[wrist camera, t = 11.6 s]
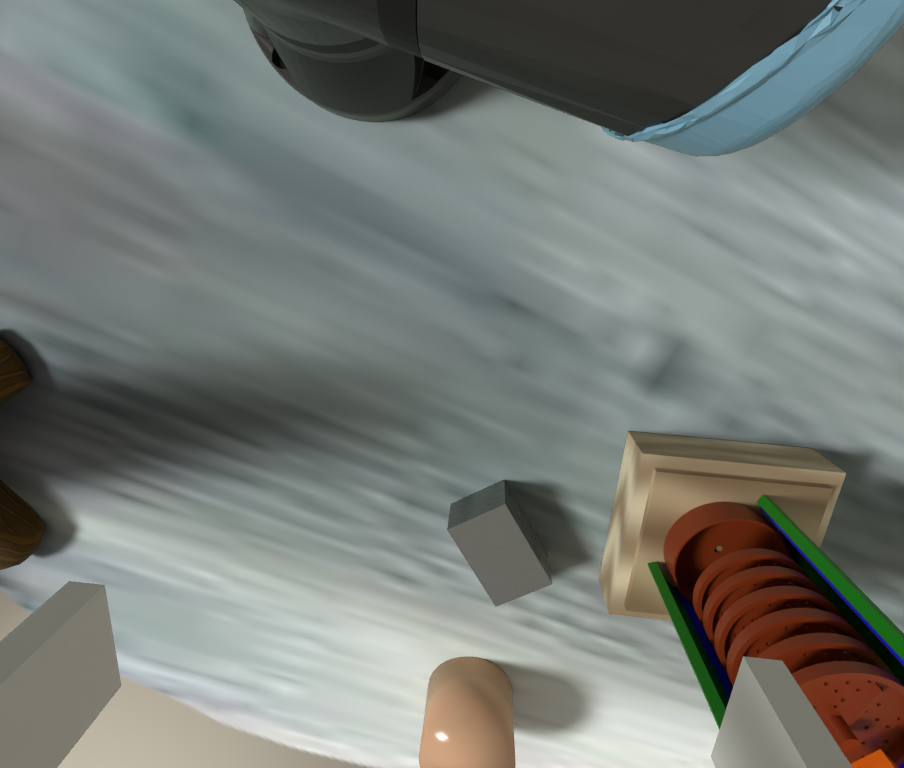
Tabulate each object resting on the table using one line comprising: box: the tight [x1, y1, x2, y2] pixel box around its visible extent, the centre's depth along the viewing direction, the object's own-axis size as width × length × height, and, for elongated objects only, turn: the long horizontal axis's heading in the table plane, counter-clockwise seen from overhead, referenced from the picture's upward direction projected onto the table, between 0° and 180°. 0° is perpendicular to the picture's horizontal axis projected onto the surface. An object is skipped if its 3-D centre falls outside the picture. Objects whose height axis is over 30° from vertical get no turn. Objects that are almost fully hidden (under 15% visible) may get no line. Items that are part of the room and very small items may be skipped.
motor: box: [647, 495, 904, 768], centre depth 28 cm, size 10×9×20 cm
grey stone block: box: [447, 480, 552, 606], centre depth 42 cm, size 8×5×4 cm, turn 29°
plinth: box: [599, 431, 846, 621], centre depth 40 cm, size 14×14×5 cm
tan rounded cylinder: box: [419, 657, 515, 768], centre depth 46 cm, size 8×8×7 cm
